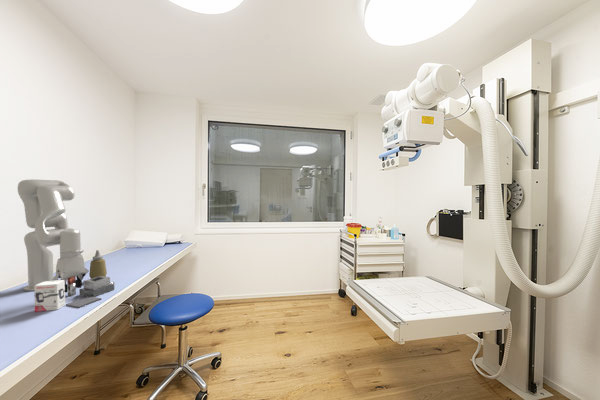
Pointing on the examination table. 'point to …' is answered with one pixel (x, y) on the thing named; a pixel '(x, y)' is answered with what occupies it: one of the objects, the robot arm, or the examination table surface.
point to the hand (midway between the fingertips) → (71, 289)
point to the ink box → (49, 295)
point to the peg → (71, 286)
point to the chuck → (96, 286)
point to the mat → (83, 301)
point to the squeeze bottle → (97, 266)
